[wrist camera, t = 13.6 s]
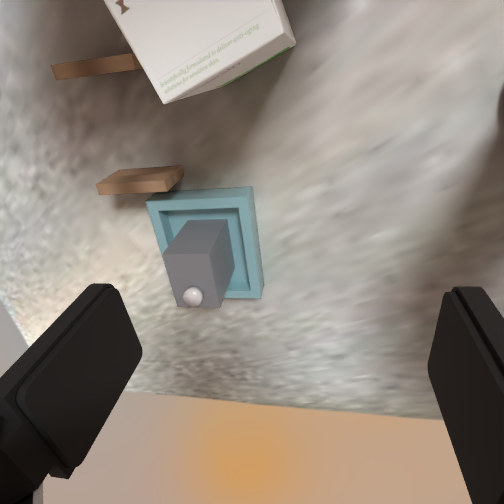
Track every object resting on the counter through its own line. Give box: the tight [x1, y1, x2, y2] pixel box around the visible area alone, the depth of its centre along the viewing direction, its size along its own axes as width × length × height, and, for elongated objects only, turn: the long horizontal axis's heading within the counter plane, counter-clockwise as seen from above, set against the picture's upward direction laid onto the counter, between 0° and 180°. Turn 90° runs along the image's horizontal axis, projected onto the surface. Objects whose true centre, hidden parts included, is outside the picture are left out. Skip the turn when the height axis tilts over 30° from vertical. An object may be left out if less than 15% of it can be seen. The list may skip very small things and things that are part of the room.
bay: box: [51, 53, 184, 195], centre depth 34 cm, size 8×12×5 cm, turn 7°
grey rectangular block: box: [162, 219, 235, 308], centre depth 38 cm, size 5×7×9 cm
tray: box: [146, 187, 264, 299], centre depth 41 cm, size 12×14×3 cm
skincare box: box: [104, 0, 296, 105], centre depth 23 cm, size 8×7×16 cm
